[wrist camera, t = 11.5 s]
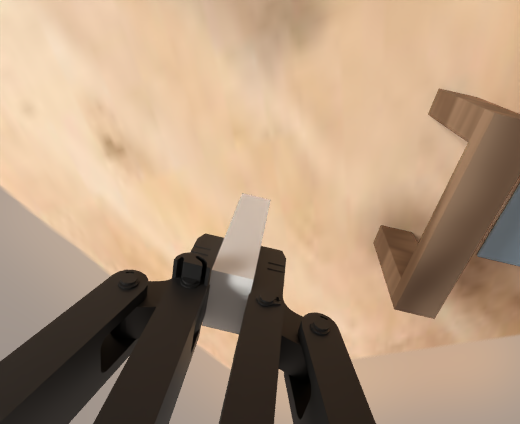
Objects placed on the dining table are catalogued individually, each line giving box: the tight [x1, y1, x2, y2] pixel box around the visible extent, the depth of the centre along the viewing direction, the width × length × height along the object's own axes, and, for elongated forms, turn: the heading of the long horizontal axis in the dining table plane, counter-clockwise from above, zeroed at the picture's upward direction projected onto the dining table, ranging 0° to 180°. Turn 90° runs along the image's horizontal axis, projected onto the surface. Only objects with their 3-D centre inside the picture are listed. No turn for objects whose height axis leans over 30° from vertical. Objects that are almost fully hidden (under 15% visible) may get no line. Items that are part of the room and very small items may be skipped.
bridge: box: [374, 89, 520, 319], centre depth 27 cm, size 3×14×9 cm, turn 168°
